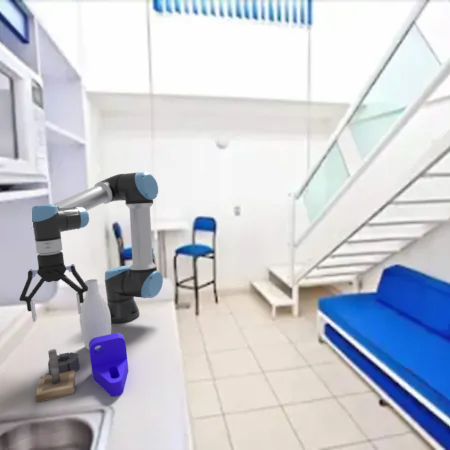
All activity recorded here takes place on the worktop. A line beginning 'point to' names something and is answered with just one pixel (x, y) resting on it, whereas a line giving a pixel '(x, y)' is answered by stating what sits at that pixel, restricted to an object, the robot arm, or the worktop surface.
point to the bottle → (94, 314)
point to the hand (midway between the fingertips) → (57, 316)
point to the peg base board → (55, 381)
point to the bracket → (109, 362)
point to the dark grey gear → (66, 362)
